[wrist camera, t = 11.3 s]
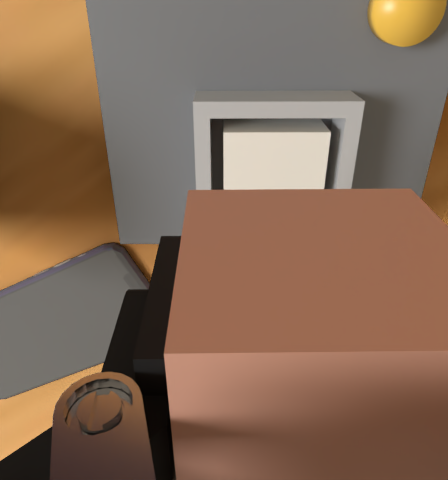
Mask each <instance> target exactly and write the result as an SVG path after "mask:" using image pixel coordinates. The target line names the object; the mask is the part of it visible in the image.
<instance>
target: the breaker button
mask: <svg viewBox="0 0 448 480" xmlns="http://www.w3.org/2000/svg"><path fill="white" fill-rule="evenodd" d="M330 138H331V132H330V130H329V129H328V128H327V126H326V125H325V124H324V123H323V121H322V120H321V119H223V160H224V190H256V189H324V186H325V178H326V170H327V162H328V154H329V146H330Z"/></svg>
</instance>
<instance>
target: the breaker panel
mask: <svg viewBox="0 0 448 480" xmlns="http://www.w3.org/2000/svg"><path fill="white" fill-rule="evenodd" d="M86 7H87V14H88V21H89V28H90V35H91V42H92V49H93V56H94V63H95V70H96V77H97V84H98V91H99V98H100V105H101V112H102V119H103V126H104V133H105V140H106V147H107V154H108V161H109V168H110V175H111V182H112V189H113V197H114V204H115V211H116V218H117V225H118V232H119V239H120V244H159V243H160V238H161V236H181V235H182V229H183V222H184V215H185V208H186V202H187V195H188V190H224V160H223V119H321V120H322V121H323V123H324V124H325V125H326V126H327V128H328V129H329V130H330V132H331V138H330V146H329V154H328V162H327V170H326V178H325V186H324V189H412V190H413V191H414V192H415V193H416V194H417V195H418V196H419V197H420V198H421V197H422V193H423V189H424V185H425V181H426V177H427V173H428V169H429V165H430V161H431V157H432V153H433V149H434V145H435V141H436V137H437V133H438V129H439V125H440V121H441V117H442V113H443V109H444V105H445V101H446V97H447V93H448V0H86Z"/></svg>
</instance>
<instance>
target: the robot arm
mask: <svg viewBox="0 0 448 480" xmlns="http://www.w3.org/2000/svg"><path fill="white" fill-rule="evenodd" d="M180 242H181V236H161V238H160V243H159V247H158V251H157V256H156V260H155V264H154V269H153V273H152V277H151V282H150V286H149V289H128V290H127V291H126V293H125V296H124V299H123V302H122V306H121V309H120V312H119V315H118V319H117V322H116V325H115V329H114V332H113V335H112V338H111V342H110V345H109V348H108V352H107V355H106V358H105V361H104V365H103V368H102V371H101V373H95V374H92V375H89V376H86V377H84V378H82V379H80V380H78V381H77V382H75V383H73V384H72V385H71V386H70V387H69V388H68V389H67V390H66V391H64V392H63V393H62V395H61V397H60V398H59V400H58V401H57V403H56V405H55V410H54V414H53V426H52V427H51V428H49V429H48V430H46V431H45V432H43V433H42V434H40V435H39V436H37V437H36V438H34V439H33V440H31V441H30V442H28V443H27V444H25V445H24V446H22V447H21V448H19V449H18V450H16V451H15V452H13V453H12V454H10V455H9V456H7V457H6V458H4V459H3V460H1V461H0V480H176V472H175V462H174V451H173V441H172V431H171V421H170V411H169V401H168V391H167V381H166V370H165V360H164V349H165V343H166V336H167V329H168V323H169V316H170V309H171V302H172V296H173V289H174V282H175V276H176V269H177V262H178V255H179V249H180Z"/></svg>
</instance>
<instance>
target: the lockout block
mask: <svg viewBox="0 0 448 480" xmlns="http://www.w3.org/2000/svg"><path fill="white" fill-rule="evenodd" d="M164 360H165V370H166V381H167V391H168V401H169V411H170V421H171V431H172V441H173V451H174V462H175V472H176V480H448V226H447V225H446V224H445V223H444V222H443V221H442V220H441V219H440V218H439V217H438V216H437V215H436V214H435V213H434V212H433V211H432V209H431V208H430V207H429V206H428V205H427V204H426V203H425V202H424V201H423V200H422V199H421V198H420V197H419V196H418V195H417V194H416V193H415V192H414V191H413V190H412V189H256V190H188V195H187V202H186V208H185V215H184V222H183V229H182V235H181V242H180V249H179V255H178V262H177V269H176V276H175V282H174V289H173V296H172V302H171V309H170V316H169V323H168V329H167V336H166V343H165V349H164Z"/></svg>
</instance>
